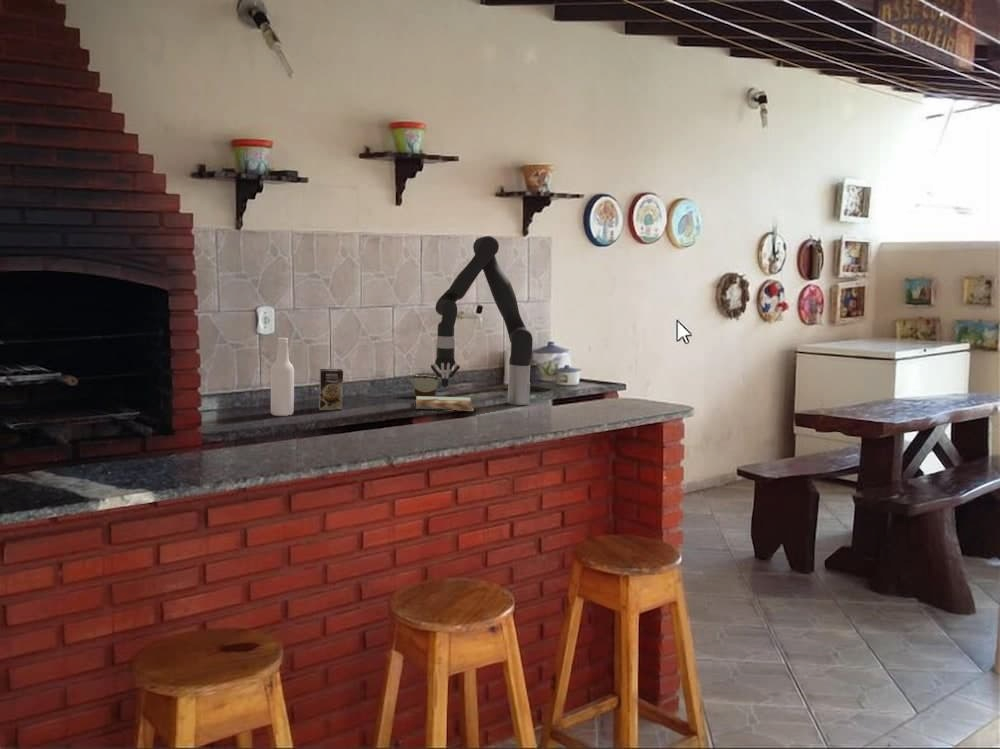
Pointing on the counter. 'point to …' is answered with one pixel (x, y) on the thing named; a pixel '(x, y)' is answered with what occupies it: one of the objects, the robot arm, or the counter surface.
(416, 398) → the board
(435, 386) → the food container
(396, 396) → the counter surface
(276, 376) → the alcohol
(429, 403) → the floor frame
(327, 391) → the coffee box
